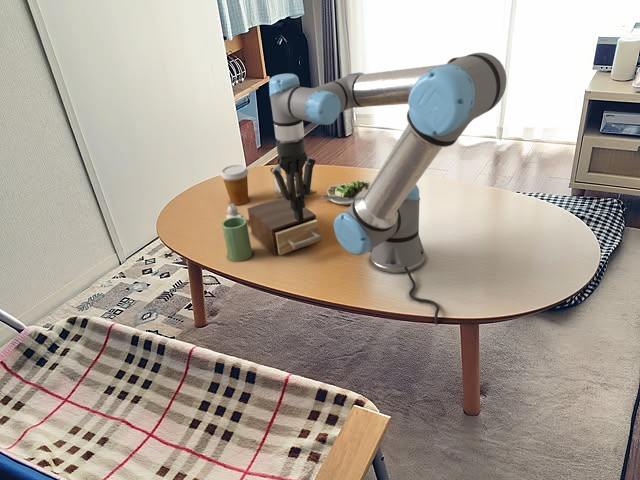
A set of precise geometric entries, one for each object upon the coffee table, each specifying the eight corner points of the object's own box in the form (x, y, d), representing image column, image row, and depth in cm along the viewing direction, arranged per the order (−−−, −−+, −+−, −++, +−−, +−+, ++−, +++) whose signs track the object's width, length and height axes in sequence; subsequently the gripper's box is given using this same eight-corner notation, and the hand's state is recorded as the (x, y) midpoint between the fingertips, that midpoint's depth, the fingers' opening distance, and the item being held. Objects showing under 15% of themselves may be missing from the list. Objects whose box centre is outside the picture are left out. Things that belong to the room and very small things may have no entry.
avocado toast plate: (325, 212, 188) (324, 199, 186) (317, 191, 203) (316, 179, 200) (381, 203, 190) (381, 191, 187) (369, 183, 204) (369, 171, 202)
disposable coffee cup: (258, 198, 202) (253, 166, 195) (241, 209, 196) (235, 176, 189) (237, 194, 207) (232, 162, 200) (221, 204, 201) (214, 172, 193)
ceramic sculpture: (283, 166, 201) (317, 176, 194) (285, 188, 206) (318, 198, 199) (264, 177, 194) (298, 188, 187) (266, 200, 200) (300, 211, 193)
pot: (255, 256, 169) (250, 223, 162) (233, 263, 166) (227, 230, 160) (246, 246, 174) (240, 214, 168) (225, 254, 172) (218, 221, 165)
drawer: (329, 248, 167) (327, 228, 163) (289, 263, 162) (286, 242, 158) (294, 221, 183) (292, 201, 179) (257, 233, 178) (253, 214, 174)
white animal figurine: (232, 219, 190) (228, 197, 186) (249, 222, 188) (245, 200, 183) (223, 226, 187) (219, 204, 182) (240, 229, 184) (235, 207, 179)
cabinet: (318, 240, 173) (315, 214, 168) (275, 255, 168) (271, 229, 163) (292, 219, 186) (289, 195, 181) (251, 233, 181) (247, 208, 176)
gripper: (305, 128, 152) (312, 208, 166) (261, 140, 147) (273, 221, 162) (318, 135, 147) (325, 217, 161) (273, 148, 142) (284, 231, 156)
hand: (299, 219), depth 161 cm, fingers closed
